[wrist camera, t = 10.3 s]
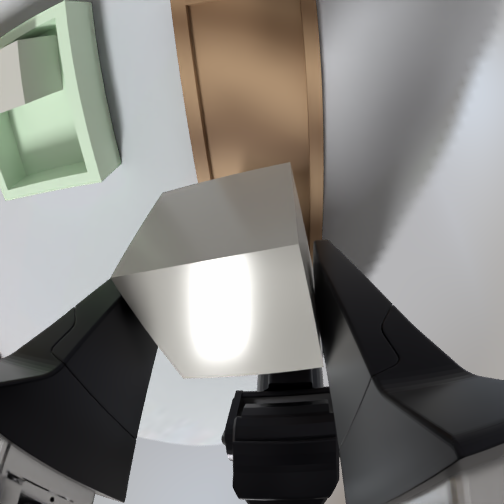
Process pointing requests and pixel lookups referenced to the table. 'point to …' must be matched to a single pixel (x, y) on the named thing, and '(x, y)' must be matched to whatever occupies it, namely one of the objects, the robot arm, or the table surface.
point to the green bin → (60, 113)
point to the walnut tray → (254, 91)
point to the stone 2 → (29, 71)
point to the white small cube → (226, 277)
